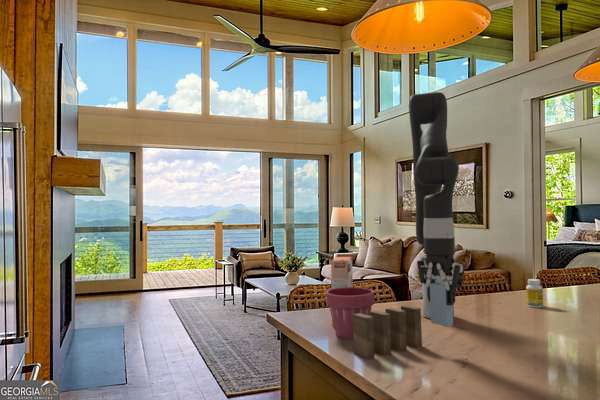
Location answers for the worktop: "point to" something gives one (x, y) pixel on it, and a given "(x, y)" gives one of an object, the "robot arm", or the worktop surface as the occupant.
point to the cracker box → (341, 273)
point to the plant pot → (348, 307)
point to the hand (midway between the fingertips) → (441, 302)
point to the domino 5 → (440, 305)
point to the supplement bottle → (534, 293)
